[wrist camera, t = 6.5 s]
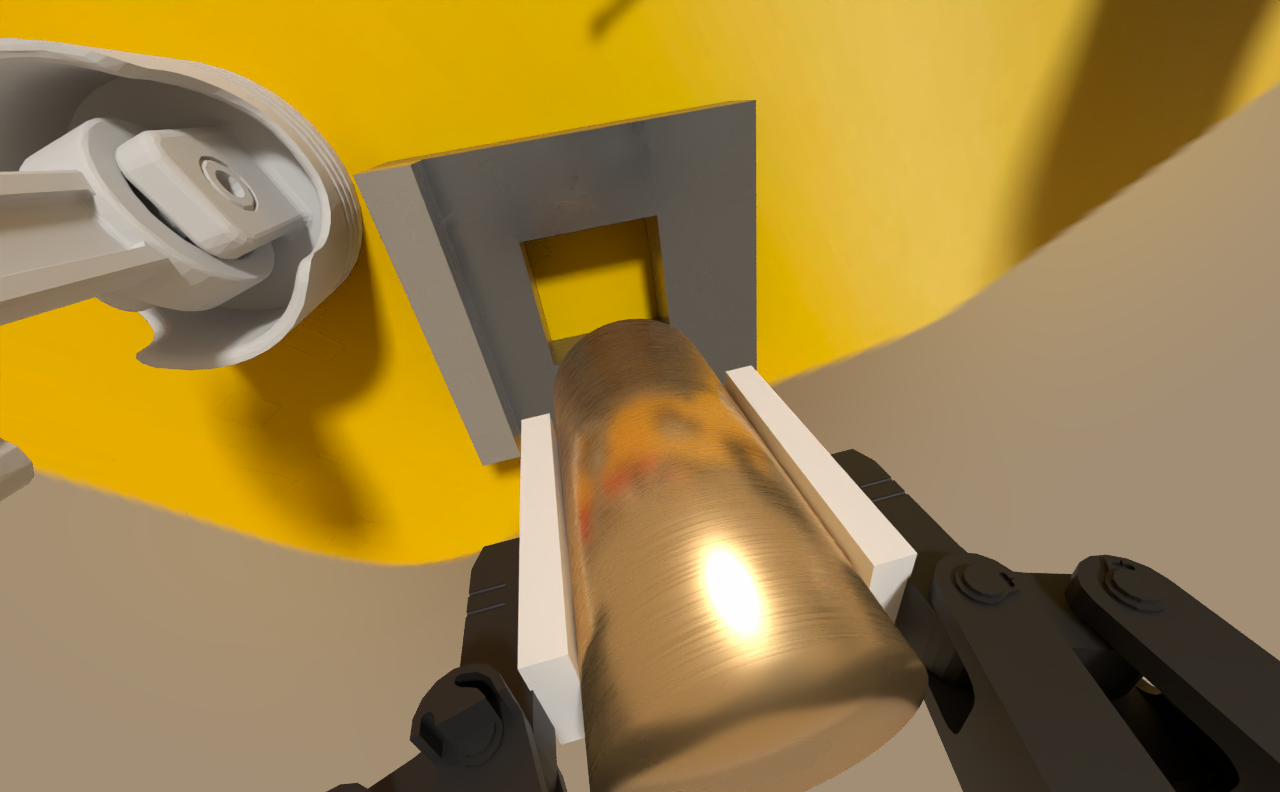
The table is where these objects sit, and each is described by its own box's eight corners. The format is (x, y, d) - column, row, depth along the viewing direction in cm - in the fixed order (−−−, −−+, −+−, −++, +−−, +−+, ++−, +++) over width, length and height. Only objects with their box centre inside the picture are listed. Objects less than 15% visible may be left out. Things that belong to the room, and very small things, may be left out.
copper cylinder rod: (699, 302, 14) (966, 598, 5) (709, 433, 16) (897, 762, 8) (534, 339, 13) (546, 725, 5) (573, 467, 16) (623, 854, 8)
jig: (730, 101, 22) (776, 99, 18) (737, 356, 30) (771, 396, 25) (389, 161, 20) (353, 175, 16) (490, 413, 28) (482, 465, 24)
